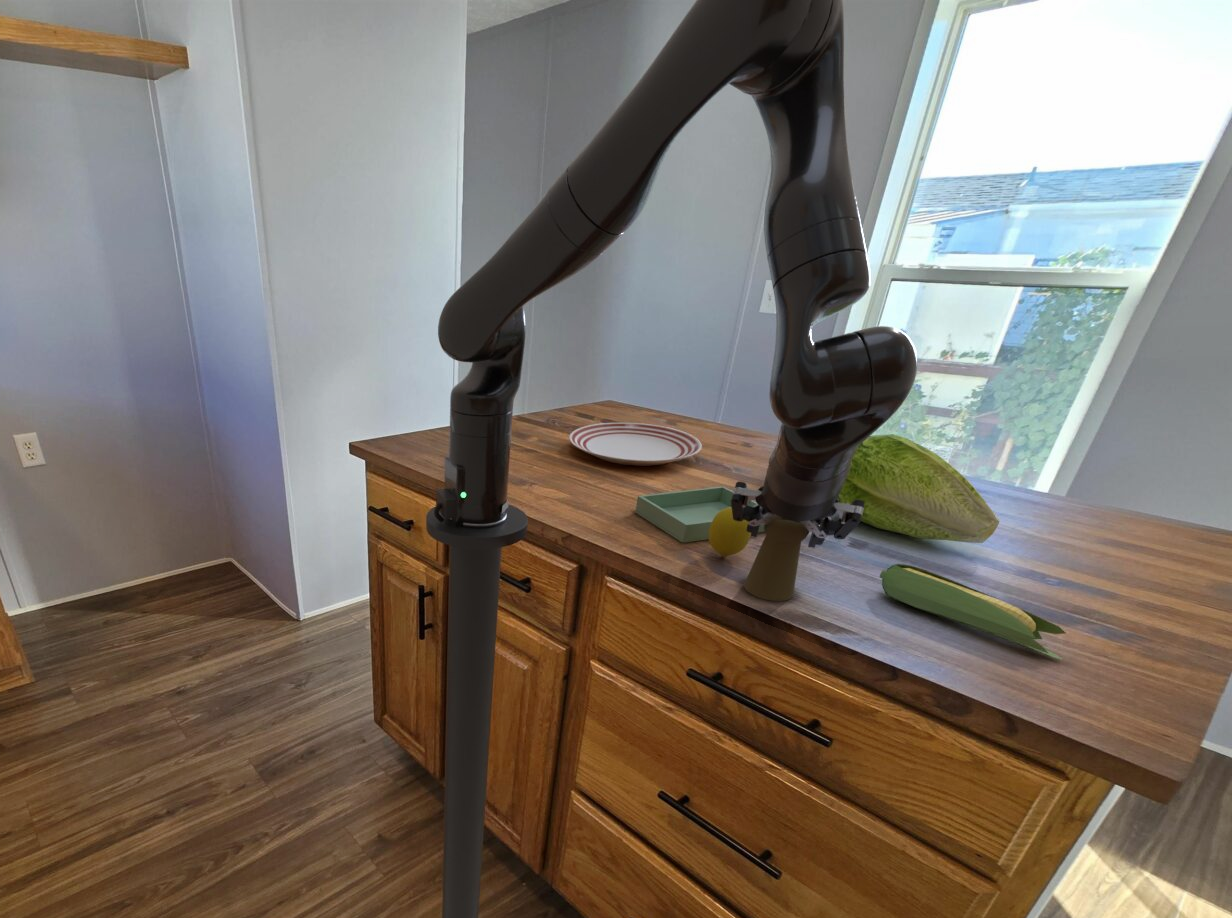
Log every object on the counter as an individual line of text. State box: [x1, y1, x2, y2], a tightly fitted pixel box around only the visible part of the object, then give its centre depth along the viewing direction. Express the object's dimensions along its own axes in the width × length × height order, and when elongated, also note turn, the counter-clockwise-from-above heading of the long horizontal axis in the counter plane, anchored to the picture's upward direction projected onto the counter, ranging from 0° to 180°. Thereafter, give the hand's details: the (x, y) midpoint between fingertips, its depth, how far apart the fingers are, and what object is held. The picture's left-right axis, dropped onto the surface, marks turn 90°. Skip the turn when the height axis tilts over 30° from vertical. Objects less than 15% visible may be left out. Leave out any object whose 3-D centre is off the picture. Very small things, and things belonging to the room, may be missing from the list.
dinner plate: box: [568, 422, 703, 467], centre depth 141 cm, size 27×27×3 cm
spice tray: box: [634, 485, 765, 544], centre depth 108 cm, size 17×13×3 cm
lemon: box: [708, 507, 752, 558], centre depth 94 cm, size 6×6×8 cm
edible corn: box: [879, 563, 1067, 661], centre depth 79 cm, size 5×20×5 cm, turn 33°
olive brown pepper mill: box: [743, 519, 810, 602], centre depth 85 cm, size 6×6×11 cm
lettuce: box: [837, 433, 1000, 544], centre depth 103 cm, size 14×24×15 cm
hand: (783, 535), depth 85 cm, fingers open, 6 cm apart
